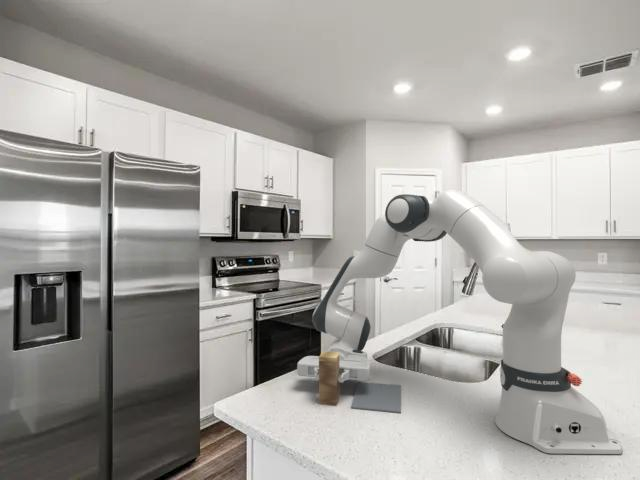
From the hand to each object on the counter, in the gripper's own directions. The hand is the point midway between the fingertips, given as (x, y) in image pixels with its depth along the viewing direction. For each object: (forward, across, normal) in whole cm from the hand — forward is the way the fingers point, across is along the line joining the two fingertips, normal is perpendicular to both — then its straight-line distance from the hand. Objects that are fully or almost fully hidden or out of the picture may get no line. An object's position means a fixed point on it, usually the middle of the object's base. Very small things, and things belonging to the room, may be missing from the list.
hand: (328, 378), depth 92 cm
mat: (-6, +12, +6) cm, 15 cm away
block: (-1, 0, +6) cm, 6 cm away
